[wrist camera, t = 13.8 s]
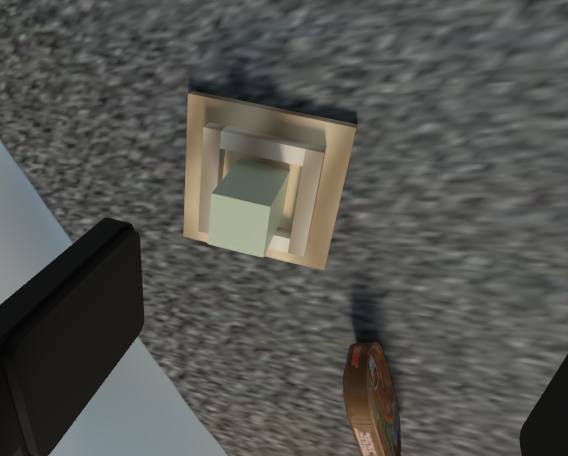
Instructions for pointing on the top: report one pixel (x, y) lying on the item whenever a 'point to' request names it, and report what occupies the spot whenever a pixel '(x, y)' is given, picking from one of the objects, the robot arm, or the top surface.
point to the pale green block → (248, 207)
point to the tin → (371, 401)
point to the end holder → (274, 152)
